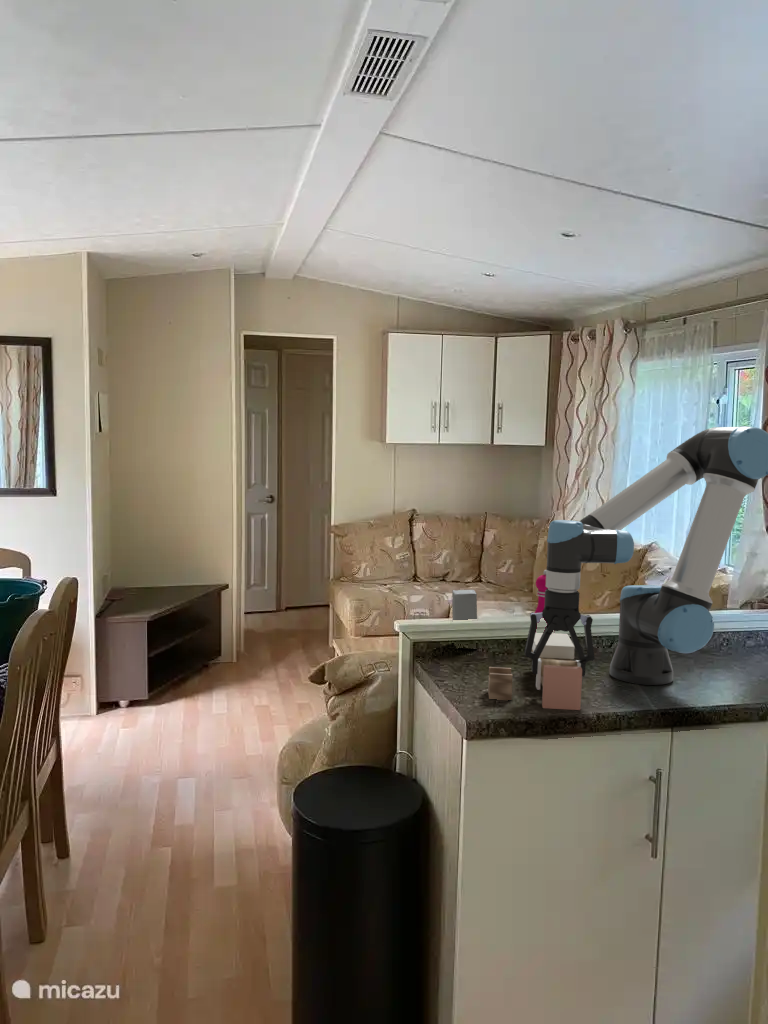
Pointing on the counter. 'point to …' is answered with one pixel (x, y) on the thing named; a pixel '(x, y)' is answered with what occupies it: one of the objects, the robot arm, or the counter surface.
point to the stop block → (562, 687)
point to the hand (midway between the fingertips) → (557, 688)
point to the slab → (556, 646)
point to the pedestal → (500, 683)
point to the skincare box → (464, 604)
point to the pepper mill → (541, 592)
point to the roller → (557, 663)
